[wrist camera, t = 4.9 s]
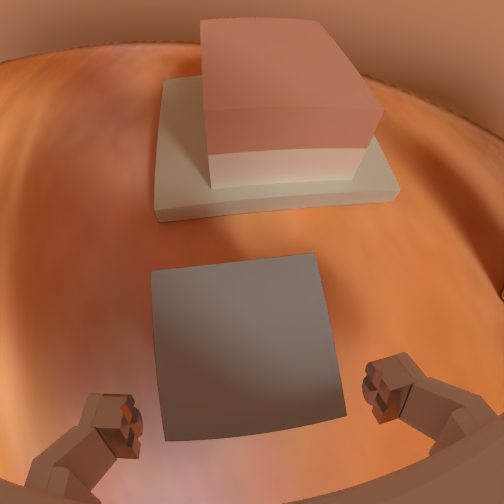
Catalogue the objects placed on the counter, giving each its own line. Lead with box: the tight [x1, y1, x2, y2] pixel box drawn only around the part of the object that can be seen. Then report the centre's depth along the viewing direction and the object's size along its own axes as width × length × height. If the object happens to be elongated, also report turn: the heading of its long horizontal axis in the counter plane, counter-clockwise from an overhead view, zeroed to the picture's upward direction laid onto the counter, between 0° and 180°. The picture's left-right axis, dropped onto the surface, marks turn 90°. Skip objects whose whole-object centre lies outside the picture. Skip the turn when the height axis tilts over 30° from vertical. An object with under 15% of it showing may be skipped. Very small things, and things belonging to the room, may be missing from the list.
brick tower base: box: [154, 18, 401, 223], centre depth 19 cm, size 16×14×8 cm
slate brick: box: [151, 253, 347, 441], centre depth 12 cm, size 5×5×8 cm
